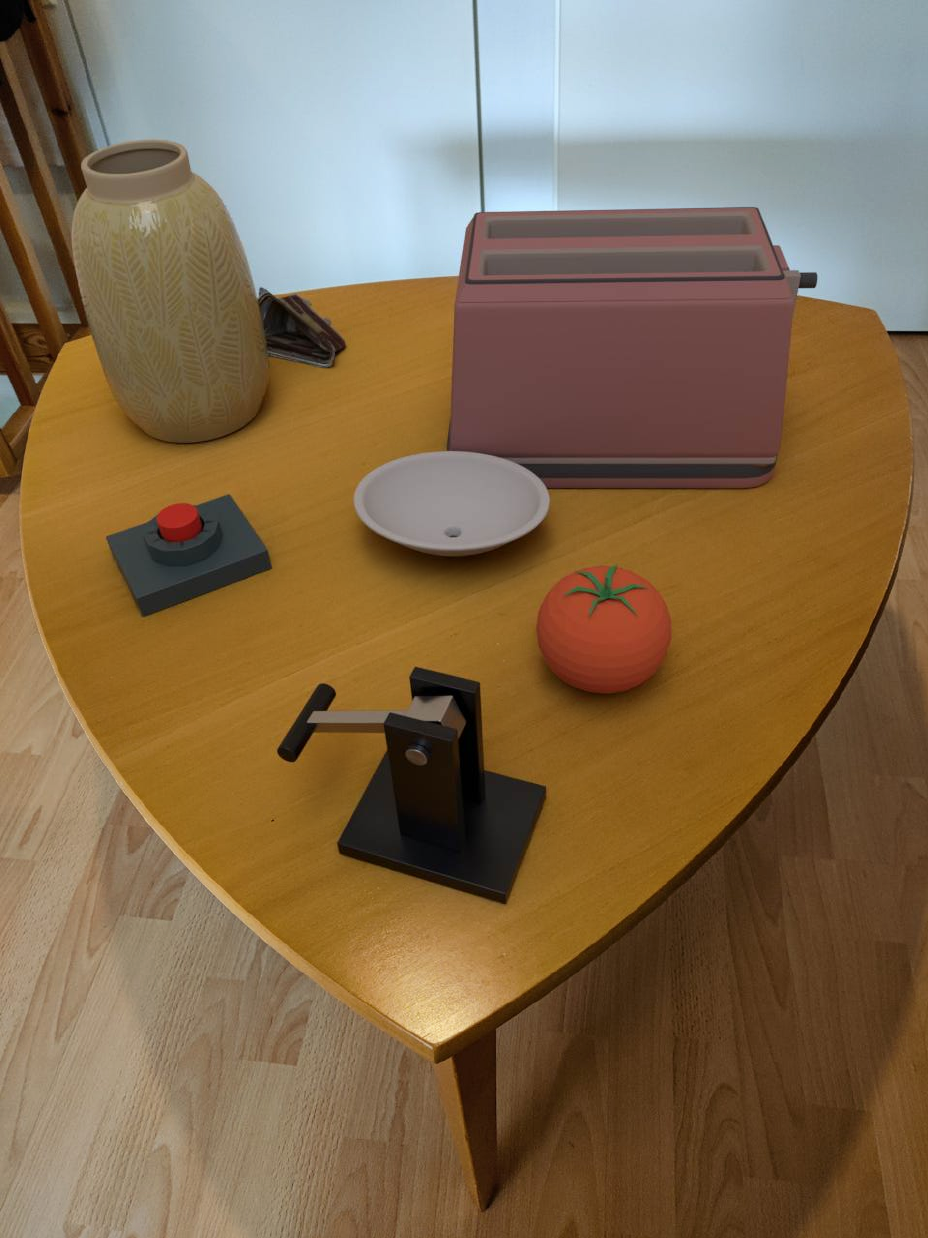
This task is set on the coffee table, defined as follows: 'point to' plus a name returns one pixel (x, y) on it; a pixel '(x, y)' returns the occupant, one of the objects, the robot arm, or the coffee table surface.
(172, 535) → the button
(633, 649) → the tomato
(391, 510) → the dish
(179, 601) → the control block
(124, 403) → the vase
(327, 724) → the lever
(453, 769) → the bracket
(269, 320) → the chocolate cake
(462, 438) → the toaster
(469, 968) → the coffee table surface
